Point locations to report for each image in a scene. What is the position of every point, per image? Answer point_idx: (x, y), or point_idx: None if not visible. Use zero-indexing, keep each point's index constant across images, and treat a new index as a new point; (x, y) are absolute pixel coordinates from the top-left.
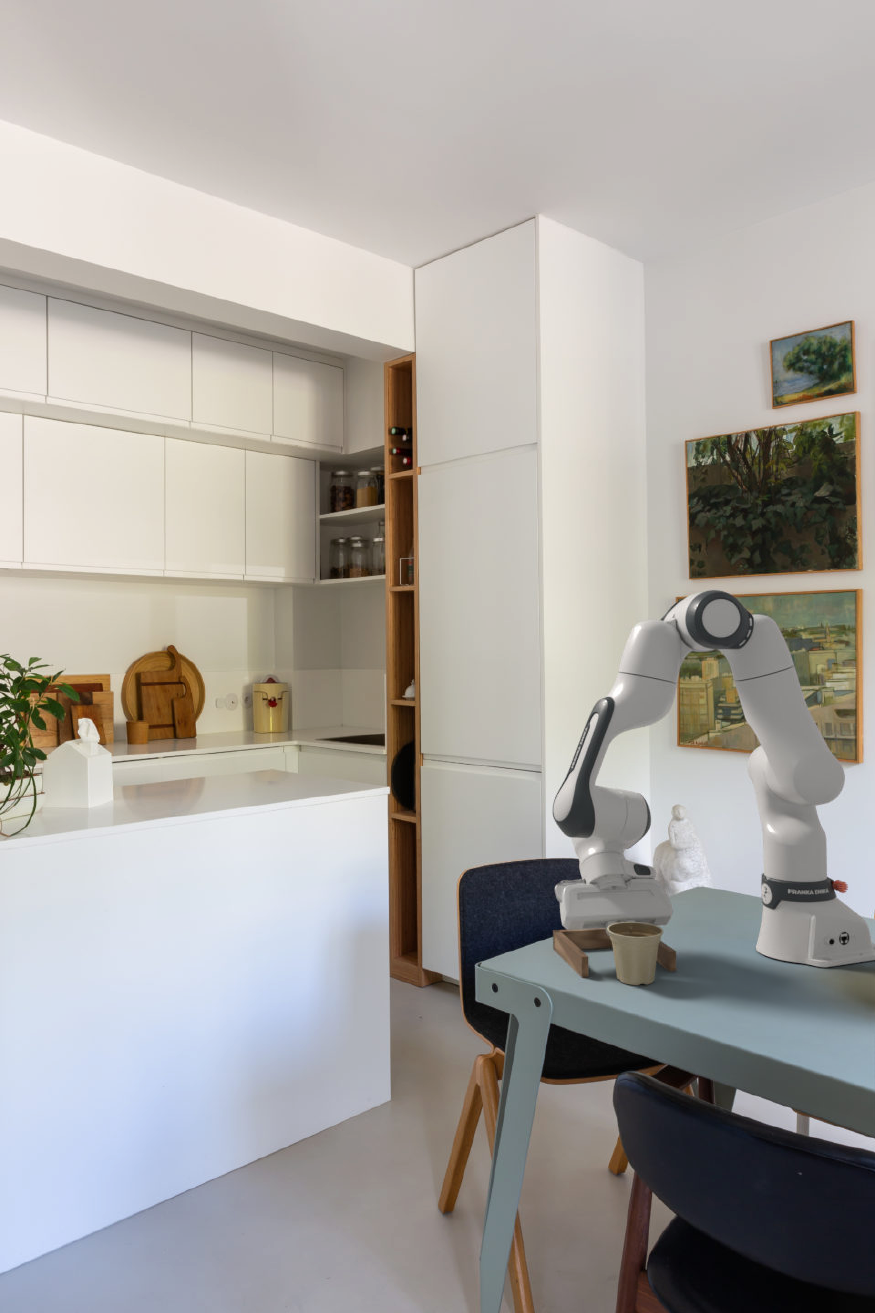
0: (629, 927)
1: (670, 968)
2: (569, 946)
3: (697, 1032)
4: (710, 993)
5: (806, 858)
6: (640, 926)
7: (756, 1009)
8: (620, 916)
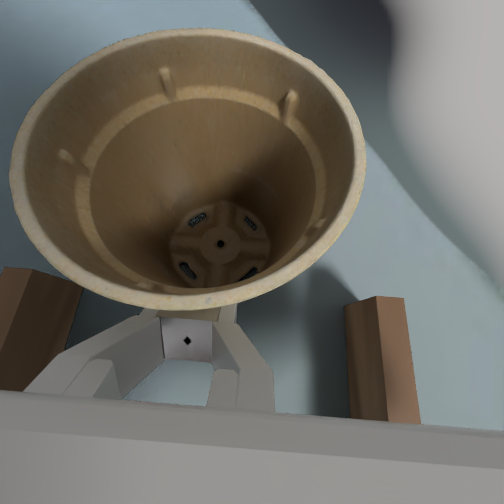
0: (149, 289)
1: (74, 283)
2: None
3: (249, 12)
4: None
5: None
6: (80, 253)
7: (87, 49)
8: (137, 414)
